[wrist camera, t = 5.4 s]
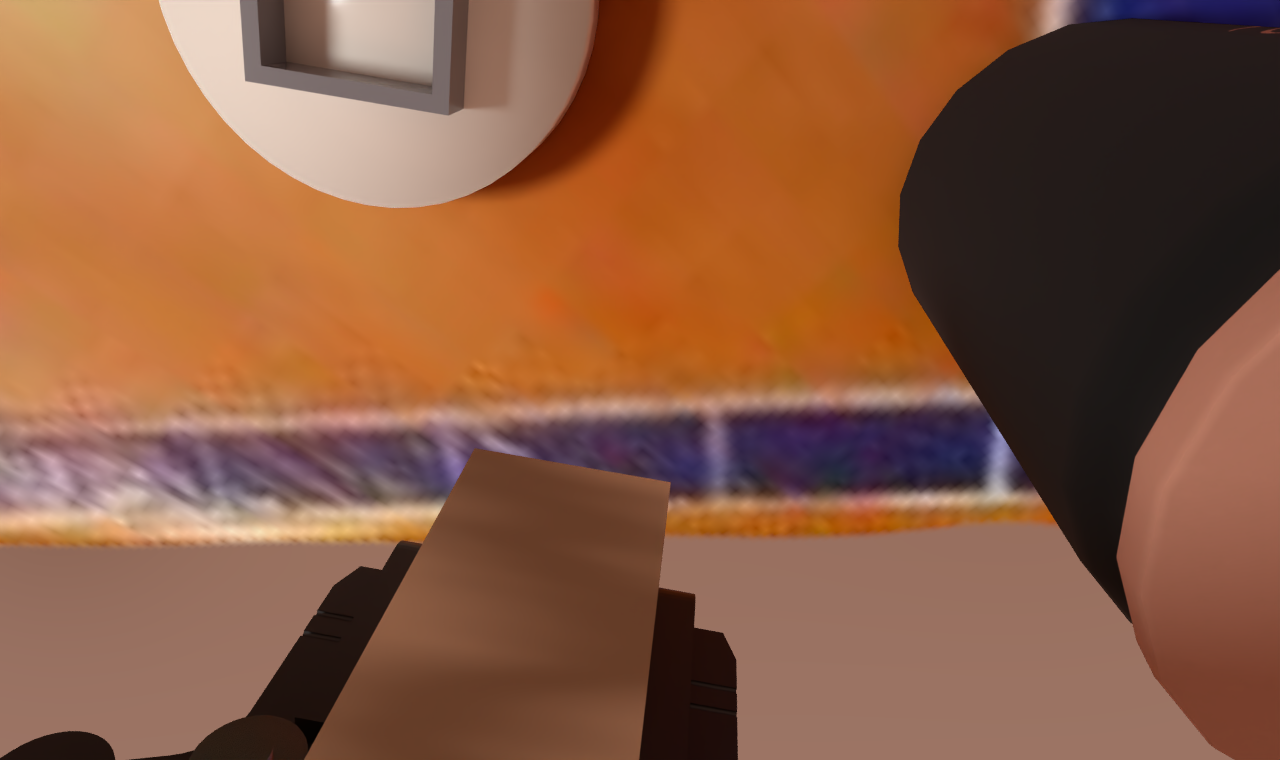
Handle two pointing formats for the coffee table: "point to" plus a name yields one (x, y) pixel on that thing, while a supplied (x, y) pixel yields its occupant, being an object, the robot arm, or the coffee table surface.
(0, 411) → the coffee table surface
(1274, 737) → the coffee jar
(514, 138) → the candle dish
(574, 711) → the wood grain block
